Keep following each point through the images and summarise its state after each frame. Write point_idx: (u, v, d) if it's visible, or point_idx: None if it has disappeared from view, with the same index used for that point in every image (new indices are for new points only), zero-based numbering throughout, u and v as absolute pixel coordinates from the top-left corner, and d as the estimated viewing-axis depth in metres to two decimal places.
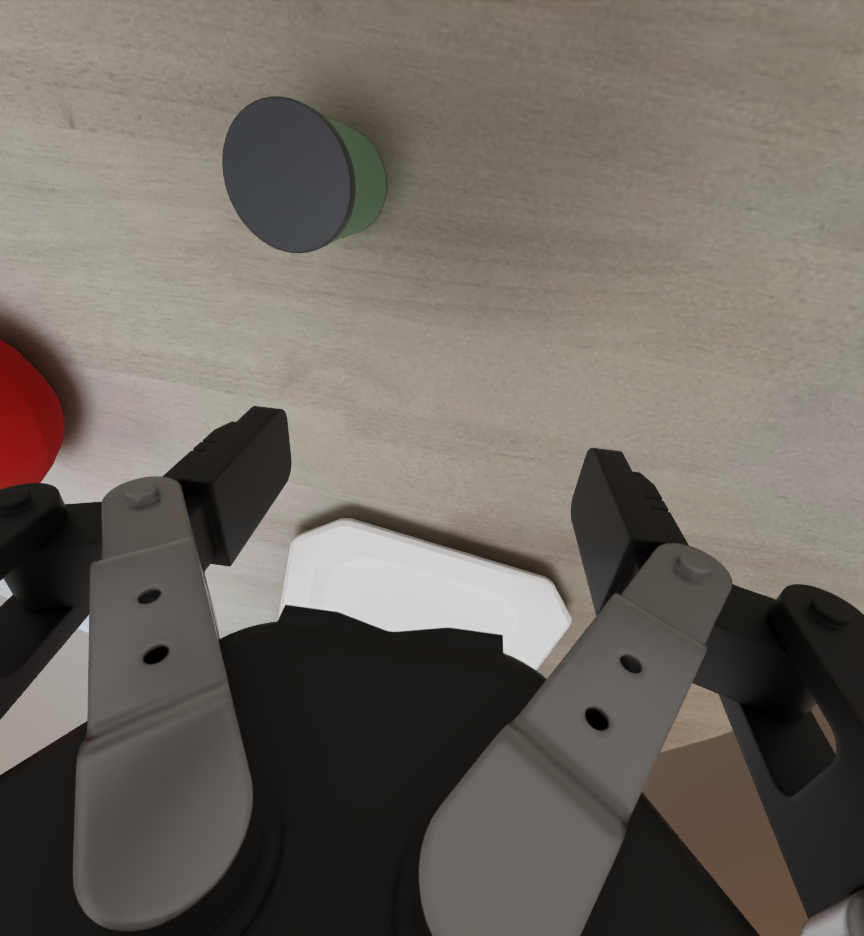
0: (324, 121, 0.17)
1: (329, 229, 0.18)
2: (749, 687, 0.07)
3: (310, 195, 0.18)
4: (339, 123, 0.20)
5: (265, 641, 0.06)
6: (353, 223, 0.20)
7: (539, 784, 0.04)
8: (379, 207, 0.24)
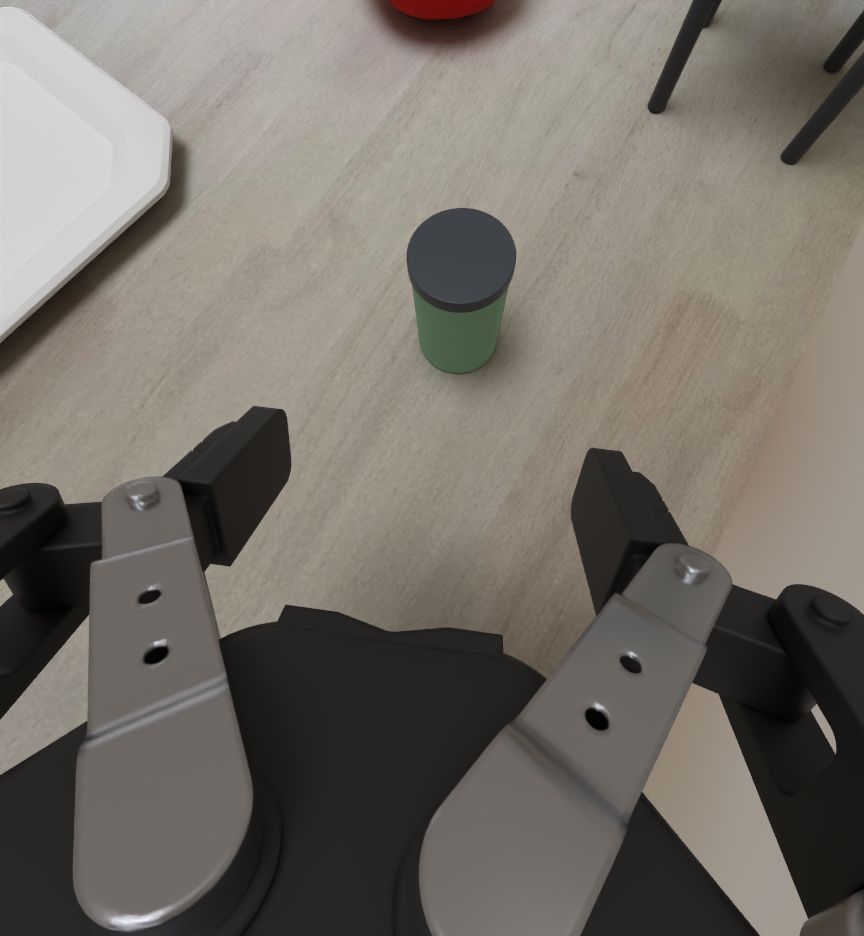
0: (482, 299, 0.21)
1: (415, 268, 0.21)
2: (749, 687, 0.07)
3: (444, 266, 0.21)
4: (487, 337, 0.25)
5: (265, 641, 0.06)
6: (417, 306, 0.23)
7: (539, 784, 0.04)
8: (427, 354, 0.28)
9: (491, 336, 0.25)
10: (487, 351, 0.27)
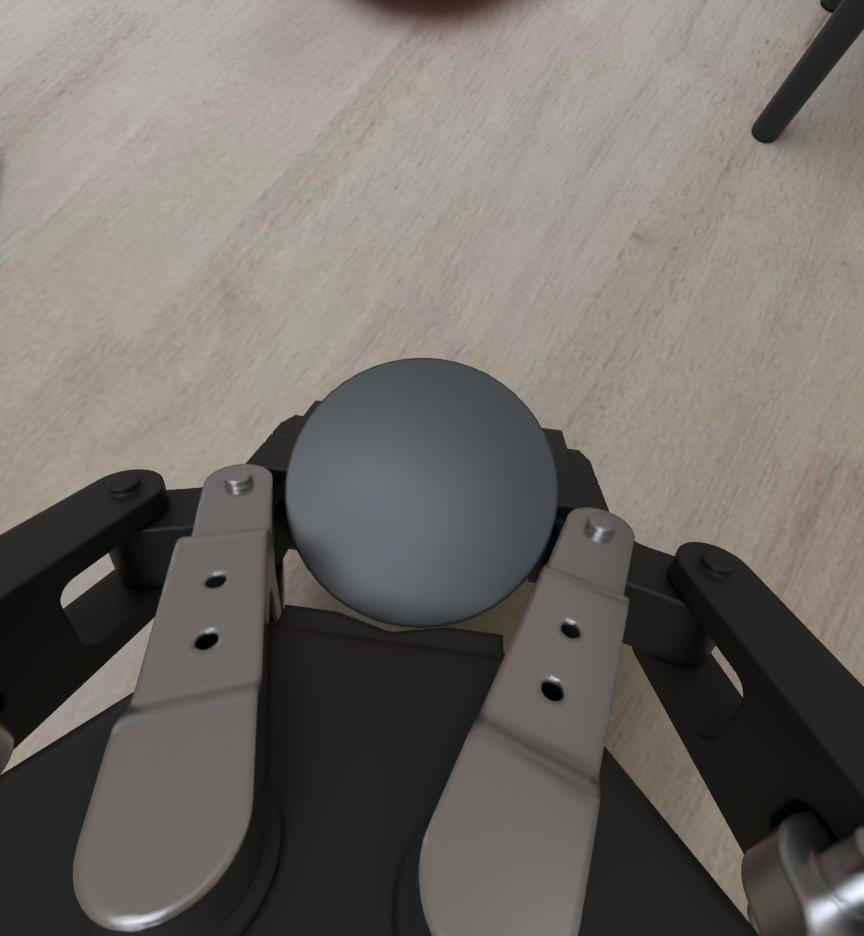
0: (470, 617, 0.08)
1: (303, 518, 0.08)
2: (651, 636, 0.08)
3: (376, 515, 0.08)
4: None
5: None
6: None
7: (539, 784, 0.04)
8: None
9: None
10: None
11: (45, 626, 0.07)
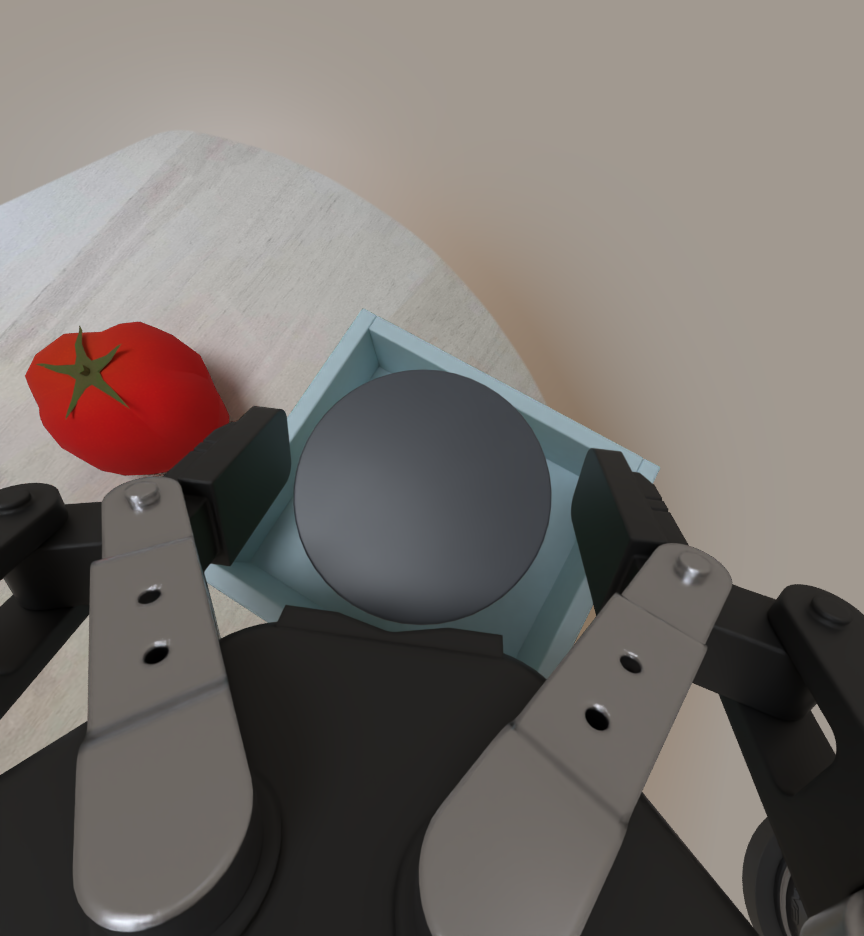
0: (468, 615, 0.08)
1: (310, 521, 0.09)
2: (749, 687, 0.07)
3: (379, 518, 0.09)
4: None
5: (265, 641, 0.06)
6: None
7: (539, 784, 0.04)
8: None
9: None
10: None
11: None
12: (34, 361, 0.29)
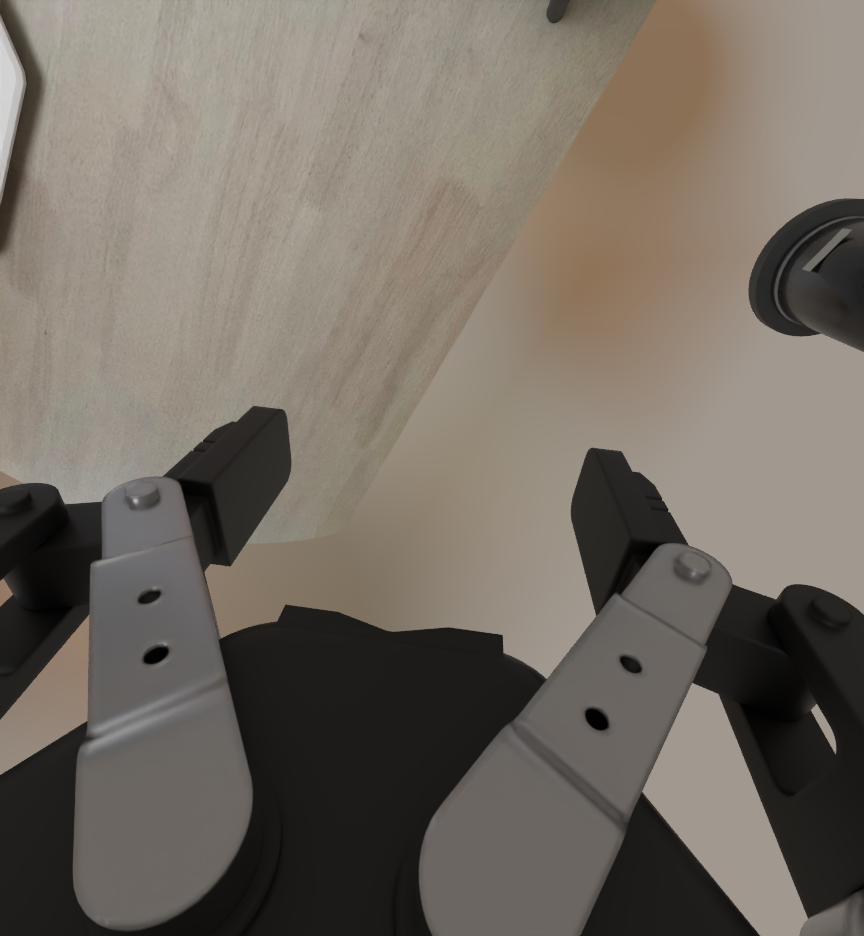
0: None
1: None
2: (749, 687, 0.07)
3: None
4: None
5: (265, 641, 0.06)
6: None
7: (539, 784, 0.04)
8: None
9: None
10: None
11: None
12: None
